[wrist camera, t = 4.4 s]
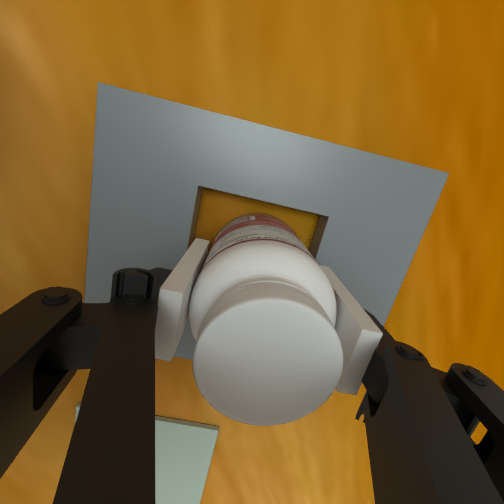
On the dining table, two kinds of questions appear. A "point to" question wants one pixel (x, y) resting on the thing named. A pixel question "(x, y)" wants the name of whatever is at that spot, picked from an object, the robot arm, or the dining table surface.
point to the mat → (181, 459)
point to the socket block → (245, 195)
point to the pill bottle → (264, 325)
